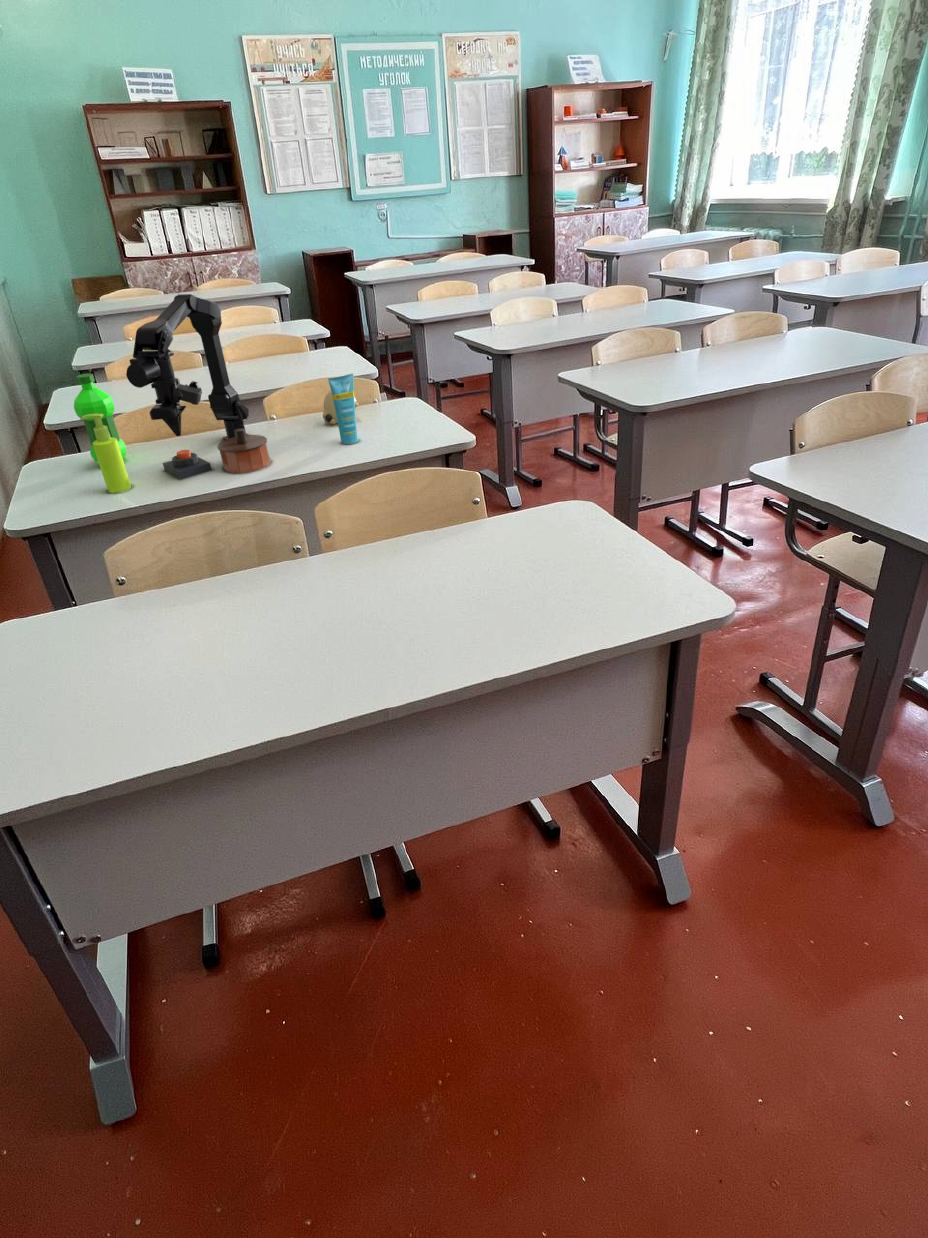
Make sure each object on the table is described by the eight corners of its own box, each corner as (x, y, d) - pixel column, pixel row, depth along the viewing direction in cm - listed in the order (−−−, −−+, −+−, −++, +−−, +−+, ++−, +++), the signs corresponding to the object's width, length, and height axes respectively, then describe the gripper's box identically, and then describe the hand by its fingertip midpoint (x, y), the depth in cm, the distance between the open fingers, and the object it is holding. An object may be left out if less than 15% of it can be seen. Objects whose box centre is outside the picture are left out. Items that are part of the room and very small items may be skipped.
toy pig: (341, 428, 246) (313, 409, 242) (362, 397, 243) (334, 378, 238) (343, 436, 238) (314, 417, 233) (365, 405, 235) (336, 384, 230)
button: (175, 458, 209) (174, 452, 208) (188, 454, 211) (186, 448, 210) (181, 461, 206) (179, 454, 205) (193, 457, 208) (192, 451, 207)
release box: (164, 470, 212) (160, 456, 209) (194, 461, 216) (191, 448, 214) (181, 479, 204) (177, 465, 202) (211, 470, 209) (208, 456, 207)
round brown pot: (216, 466, 212) (211, 445, 208) (256, 454, 218) (251, 434, 215) (237, 476, 203) (232, 455, 200) (278, 463, 210) (273, 442, 207)
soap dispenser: (108, 486, 204) (84, 412, 193) (134, 483, 204) (111, 409, 193) (101, 494, 199) (75, 419, 188) (127, 491, 199) (104, 416, 188)
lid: (209, 445, 209) (205, 431, 206) (252, 433, 216) (249, 419, 214) (231, 456, 200) (228, 441, 198) (276, 442, 207) (273, 428, 205)
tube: (342, 446, 219) (331, 379, 209) (335, 442, 223) (324, 376, 213) (364, 440, 223) (356, 374, 213) (357, 437, 226) (348, 371, 216)
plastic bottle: (108, 471, 214) (79, 381, 201) (86, 466, 219) (56, 378, 206) (138, 459, 221) (112, 372, 208) (115, 454, 226) (88, 369, 213)
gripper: (186, 383, 189) (201, 444, 198) (201, 366, 205) (215, 422, 213) (141, 387, 189) (158, 447, 197) (160, 369, 205) (175, 426, 213)
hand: (178, 435), depth 205 cm, fingers closed
